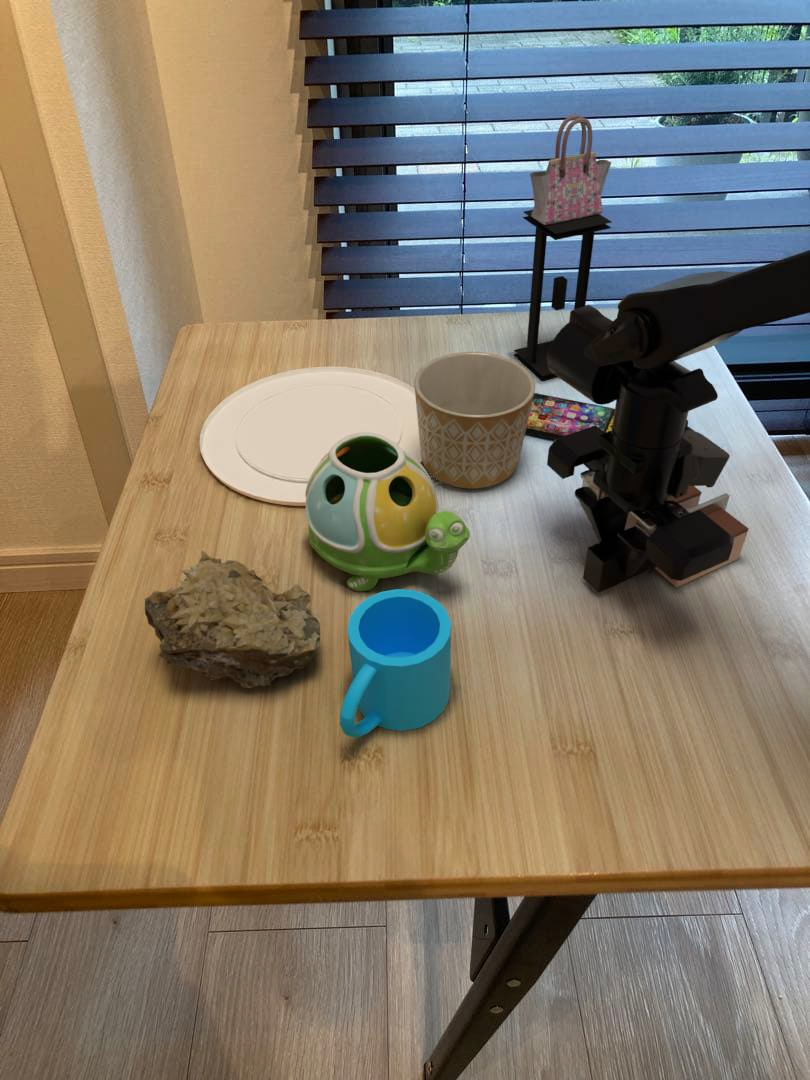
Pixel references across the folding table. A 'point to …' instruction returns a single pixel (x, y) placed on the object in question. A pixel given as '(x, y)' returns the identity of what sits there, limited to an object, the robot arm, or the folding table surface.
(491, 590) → the folding table surface
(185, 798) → the folding table surface
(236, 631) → the mineral specimen
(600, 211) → the handbag
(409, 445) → the plate
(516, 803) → the folding table surface
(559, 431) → the smartphone
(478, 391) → the planter
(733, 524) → the brown block
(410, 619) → the mug
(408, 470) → the turtle holder
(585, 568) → the knife
